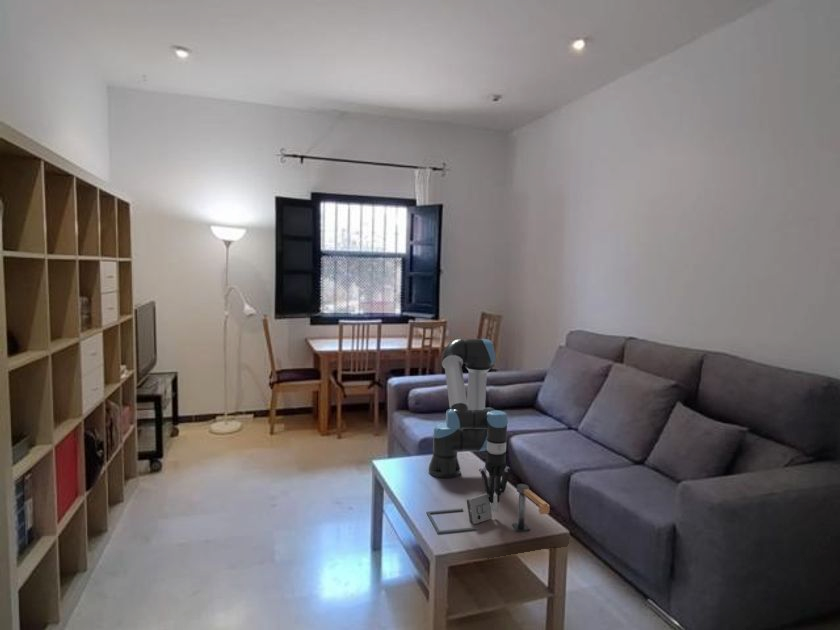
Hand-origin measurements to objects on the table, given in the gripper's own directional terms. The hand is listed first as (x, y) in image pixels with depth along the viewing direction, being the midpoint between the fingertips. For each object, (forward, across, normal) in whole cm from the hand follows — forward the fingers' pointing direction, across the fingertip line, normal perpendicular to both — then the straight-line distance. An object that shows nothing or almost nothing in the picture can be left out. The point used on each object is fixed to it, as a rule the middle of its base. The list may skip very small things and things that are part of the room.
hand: (493, 509), depth 195 cm
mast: (+3, +7, -10) cm, 13 cm away
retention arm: (-10, +7, -16) cm, 20 cm away
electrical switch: (+3, -6, 0) cm, 7 cm away
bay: (+3, -17, 0) cm, 17 cm away
